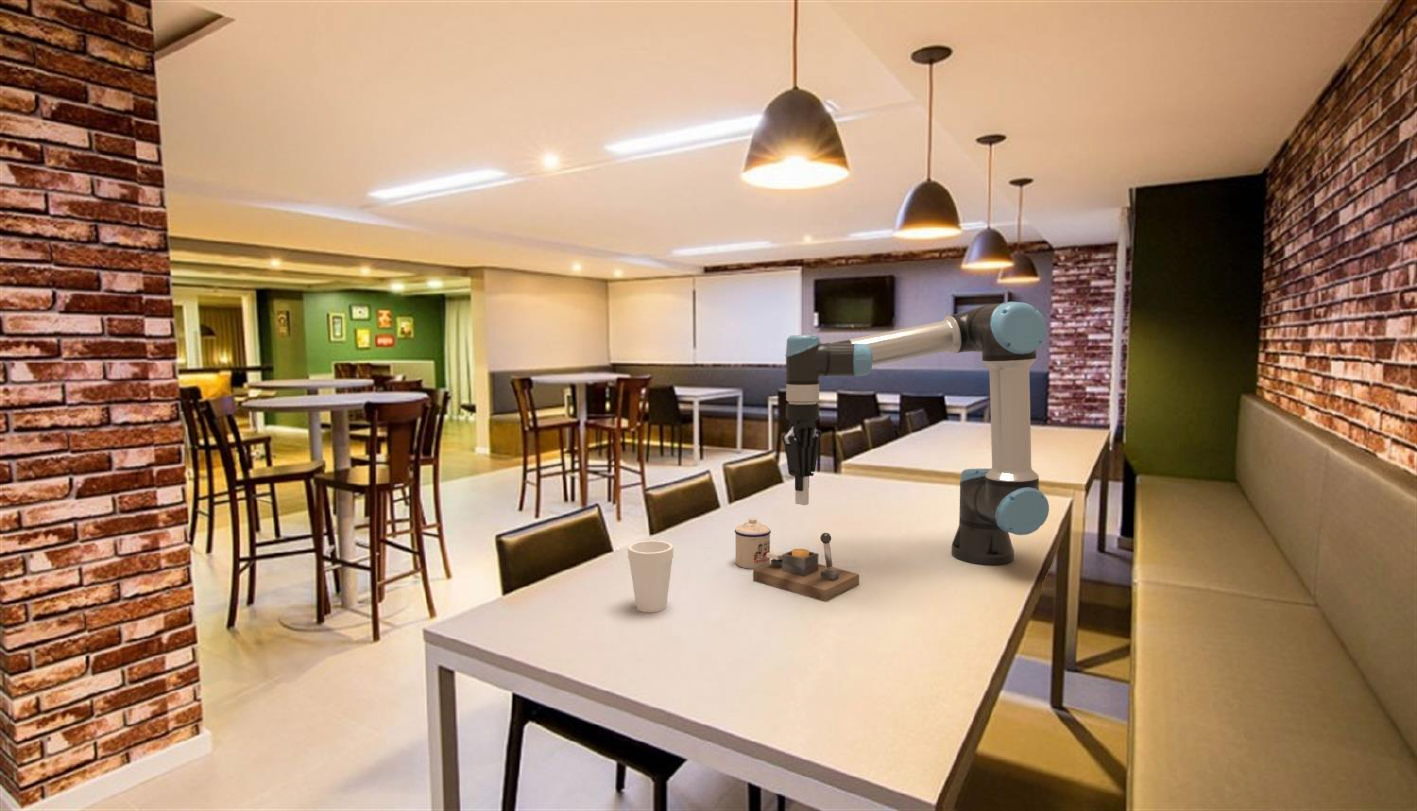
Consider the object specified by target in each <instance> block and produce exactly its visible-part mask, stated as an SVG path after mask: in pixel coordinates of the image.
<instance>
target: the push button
mask: <svg viewBox="0 0 1417 811" xmlns="http://www.w3.org/2000/svg"><path fill="white" fill-rule="evenodd" d="M791 551H792V556H795V557H799V558H806V557H808V556H809V552H810V550H808V549H805V548H794V549H791Z"/></svg>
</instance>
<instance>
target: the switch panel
mask: <svg viewBox="0 0 1417 811" xmlns="http://www.w3.org/2000/svg"><path fill="white" fill-rule="evenodd" d="M786 552H787V551H786ZM752 581H754V582H756V583H760V584H764V585H768V586H770V587H774V588H777V589H781V590H785V591H787V592H792V593H795V594H798V595H802V596H805V597H809V598H812V599H815V600H819V601H821V602H822V601H823V602H824V603H825V602H828V601H830V600H832V599H834V598H836V597H838V596H840V595H842V594H844V593H846V592H847V591H849V590H851V589H853V588H856V587H857V586H859V585H860V573H856V572H851V571H848V570H844V569H840V568H837V567H836V568H835V567H833V566H832V568H831V569H828V568H827V567H826V564H825V565H824V564H820V563H819V553H817V552H813V551H809V556H808V557H806V558H799V557H795V556H792V550H791V551H788V552H787V553H785V554H782V559H781V560H775V559H772V558H771V560H770V564H768V565H765V566H762V567H760V568H757V569H752Z"/></svg>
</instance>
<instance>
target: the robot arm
mask: <svg viewBox="0 0 1417 811" xmlns="http://www.w3.org/2000/svg"><path fill="white" fill-rule="evenodd" d="M1046 333H1047V326H1046V322H1045V319H1044V316H1043V315H1042V314H1041V312H1040V311H1039V310H1038V309H1037V308H1036V307H1035V306H1033V305H1031V304H1029V303H1026V302H1020V301H1018V302H1017V301H1008V302H1002V303H995V304H985V305H984V304H983V305H981V306H979V307H975V308H972V309H970V310H966V311H963V312H960V313H955V314H950V315H946V316H944V319H943V320H942V321H937V322H931V323H926V324H921V325H915V326H911V327H910V326H909V327H906V328H901V329H895V330H891V331H885V332H881V333H875V334H870V335H866V336H860V337H854V338H850V339H846V340H845V339H844V340H840V341H835V342H825V343H823V342H821V340H820V336H819V335H817V334H797V335H795V334H792V335H789V336H788V337H787V339H786V348H785V349H786V350H785V369H786V370H785V371H786V372H785V379H786V380H785V386H786V387H785V389H786V390H785V391H786V392H785V398H786V399H785V401H787V402H788V403H786V405H785V419H786V420H788V421H789V427H788V431H787V434H782V435H781V440H782V443H783V445H784V452H785V457H786V458H785V459H786V464H787V471H788V475H790V476H791V477H794V491H795V492H794V493H795V494H794V497H795V503H794V504H796V505H801V506H807V505H808V506H809V501H810V500H809V499H810V497H809V496H810V493H809V492H810V477H813V476H815V475H814V474H815V473H814V472H816V469H817V468H816V467H817V466H816V465H817V459H818V452H819V447H820V446H819V445H820V439H821V437H822V435H823V434H822V432H823V431H822V430H819V429H817V428H816V422H815V421H818V420H819V418H820V405H819V403H818V402H819V401H820V377H855V378H856V377H862V376H868V375H870V373H871V372H872V368H873V366H877V365H878V366H879V365H881V364H887V363H892V362H898V361H903V360H907V359H908V360H909V359H912V358H914V359H915V358H917V357H925V356H927V355H928V356H929V355H932V354H933V355H934V354H938V353H944V352H950V353H951V354H959V353H965V352H967V353H968V352H976V353H977V352H981V354H982V356H981V358H982V363H983V364H984V365H985V366H986V367H987V368H988V369H989V396H990V398H989V401H990V429H991V430H990V433H991V434H990V437H991V438H990V439H991V441H990V442H991V445H990V446H991V468H966V469H963V470H962V471H961V474H960V480H959V486H960V487H959V517H958V518H959V522H958V523H959V524H958V527H957V530H956V532H955V535H954V538H953V541H952V543H951V547H950V548H951V551H950V553H951V555H952V556H953V557H954V558H956V559H959V560H961V561H964V562H967V563H973V564H978V565H985V566H986V565H988V566H990V565H991V566H993V565H994V566H995V565H997V566H998V565H1006V564H1010V563H1012V562H1013V561H1014V559H1015V549H1014V547H1013V544H1012V539H1011V536H1010V534H1013V535H1017V536H1027V535H1030V534H1032V533H1034V532H1037V531H1038V530H1039V529H1040V527H1041V526H1043V525H1044V523H1046V521H1047V519H1048V518H1049V517H1048V516H1049V512H1050V504H1049V501H1048V498H1047V497H1046V496H1045V494H1044V492H1042V491H1041V490H1040V484H1039V483H1040V479H1039V474H1038V473H1037V472H1035V470H1033V468H1032V442H1031V441H1032V434H1031V430H1032V429H1031V390H1030V389H1031V388H1030V384H1031V383H1030V381H1031V380H1030V367H1031V366H1032V365H1033V363H1035V362H1036V361H1037V349H1038V348H1039V347H1040V345H1041V343H1043V342H1044V340H1045V338H1046V337H1045V336H1046Z"/></svg>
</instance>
